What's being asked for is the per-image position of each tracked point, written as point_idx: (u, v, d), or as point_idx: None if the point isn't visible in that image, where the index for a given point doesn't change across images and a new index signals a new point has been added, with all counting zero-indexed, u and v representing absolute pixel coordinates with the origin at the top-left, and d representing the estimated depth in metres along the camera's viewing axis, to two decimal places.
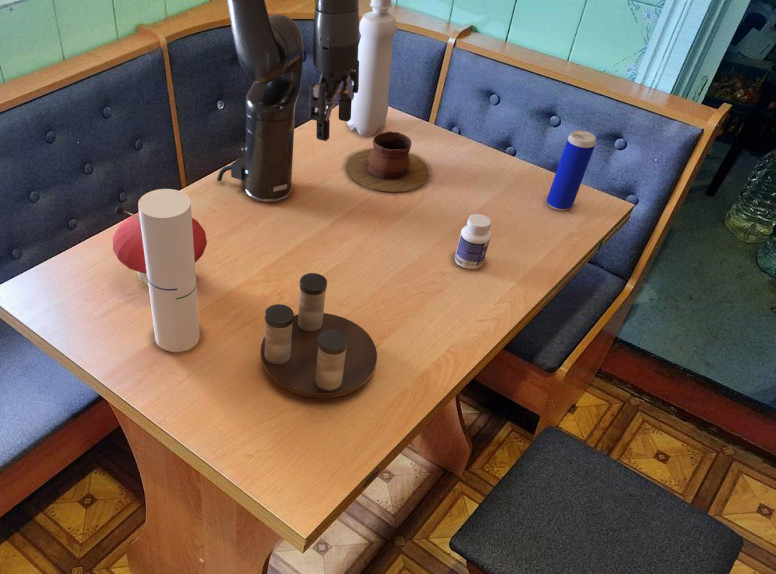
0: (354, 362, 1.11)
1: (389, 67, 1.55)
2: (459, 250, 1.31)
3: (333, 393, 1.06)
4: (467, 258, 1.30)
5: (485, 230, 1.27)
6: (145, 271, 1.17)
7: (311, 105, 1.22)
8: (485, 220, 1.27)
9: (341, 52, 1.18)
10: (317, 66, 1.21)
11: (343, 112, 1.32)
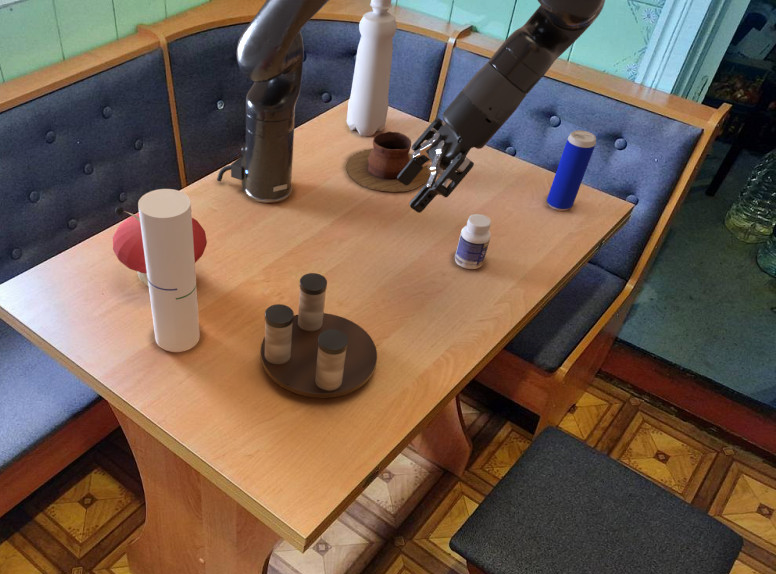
0: (354, 362, 1.11)
1: (389, 67, 1.55)
2: (459, 250, 1.31)
3: (333, 393, 1.06)
4: (467, 258, 1.30)
5: (485, 230, 1.27)
6: (145, 271, 1.17)
7: (448, 176, 1.00)
8: (485, 220, 1.27)
9: (495, 130, 1.01)
10: (462, 132, 1.00)
11: (408, 174, 1.12)
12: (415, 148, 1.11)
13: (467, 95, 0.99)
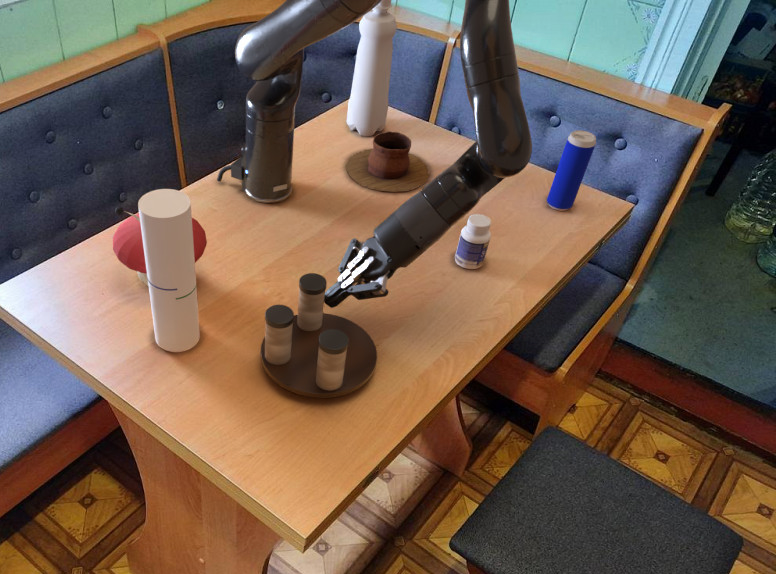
0: (354, 362, 1.11)
1: (389, 67, 1.55)
2: (459, 250, 1.31)
3: (333, 393, 1.06)
4: (467, 258, 1.30)
5: (485, 230, 1.27)
6: (145, 271, 1.17)
7: (362, 292, 1.09)
8: (485, 220, 1.27)
9: None
10: (392, 254, 1.06)
11: None
12: (342, 271, 1.13)
13: (400, 221, 1.05)
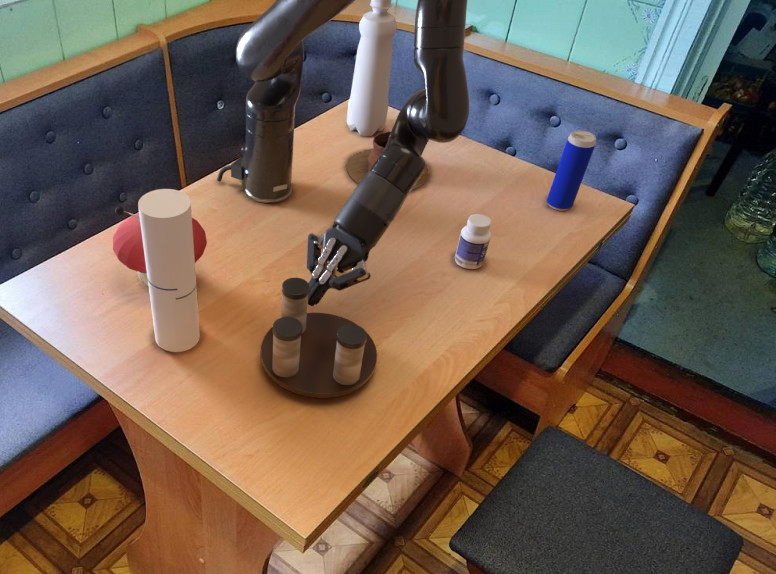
0: None
1: (389, 67, 1.55)
2: (459, 250, 1.31)
3: (357, 385, 1.08)
4: (467, 258, 1.30)
5: (485, 230, 1.27)
6: (145, 271, 1.17)
7: (346, 282, 1.10)
8: (485, 220, 1.27)
9: None
10: (366, 238, 1.09)
11: None
12: (312, 268, 1.14)
13: (365, 204, 1.07)
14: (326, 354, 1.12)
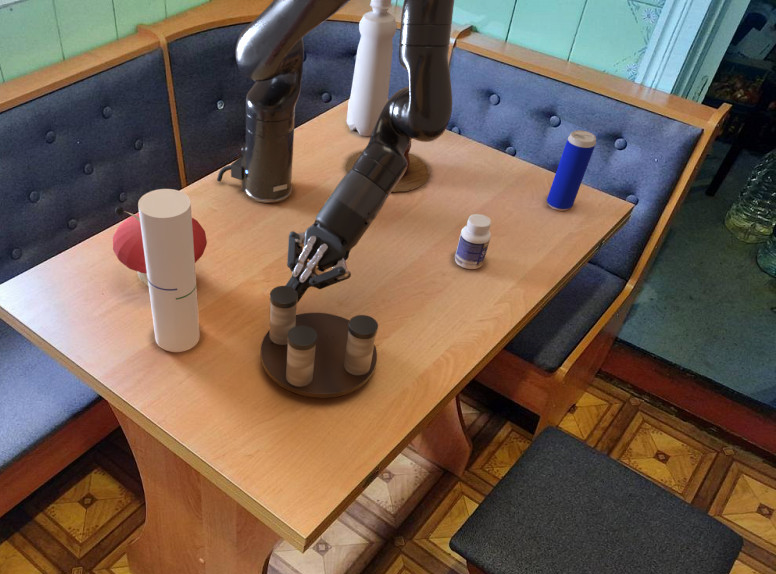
0: None
1: (389, 67, 1.55)
2: (459, 250, 1.31)
3: (372, 372, 1.10)
4: (467, 258, 1.30)
5: (485, 230, 1.27)
6: (145, 271, 1.17)
7: (326, 280, 1.09)
8: (485, 220, 1.27)
9: None
10: (346, 237, 1.08)
11: None
12: (293, 266, 1.13)
13: (345, 203, 1.07)
14: (328, 352, 1.12)
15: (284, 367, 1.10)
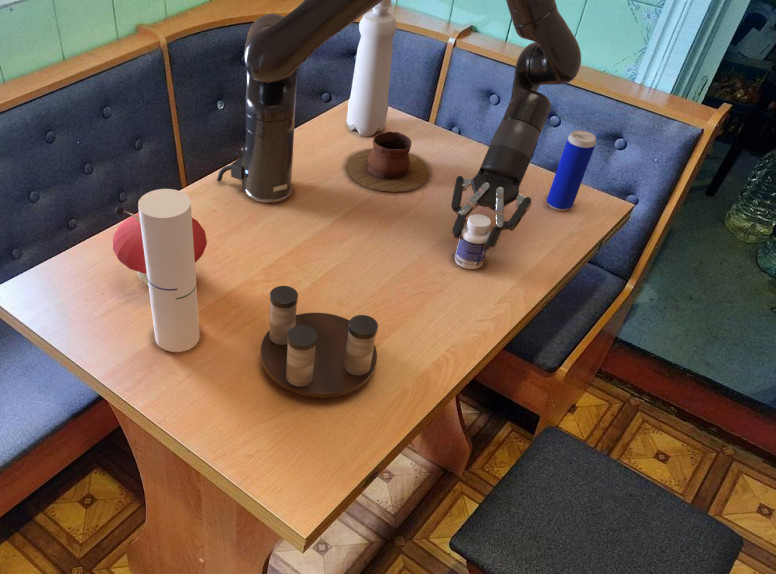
0: None
1: (389, 67, 1.55)
2: (459, 250, 1.31)
3: (372, 372, 1.10)
4: (467, 258, 1.30)
5: (485, 230, 1.27)
6: (145, 271, 1.17)
7: (521, 216, 1.25)
8: (485, 220, 1.27)
9: None
10: (519, 176, 1.25)
11: (460, 229, 1.29)
12: (457, 207, 1.29)
13: (515, 147, 1.24)
14: (328, 352, 1.12)
15: (284, 367, 1.10)
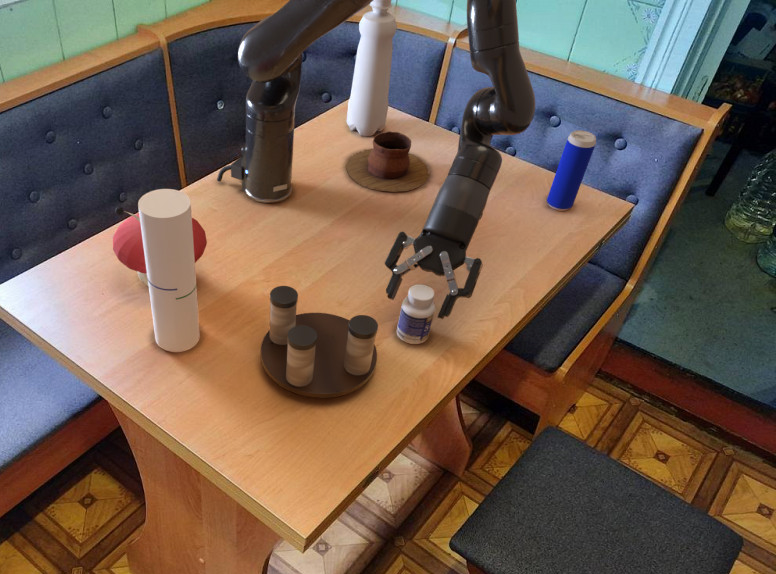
0: None
1: (389, 67, 1.55)
2: (400, 323, 1.16)
3: (372, 372, 1.10)
4: (409, 333, 1.16)
5: (427, 303, 1.12)
6: (145, 271, 1.17)
7: (475, 280, 1.10)
8: (428, 292, 1.13)
9: None
10: (465, 240, 1.10)
11: (395, 290, 1.15)
12: (391, 264, 1.15)
13: (460, 208, 1.09)
14: (328, 352, 1.12)
15: (284, 367, 1.10)
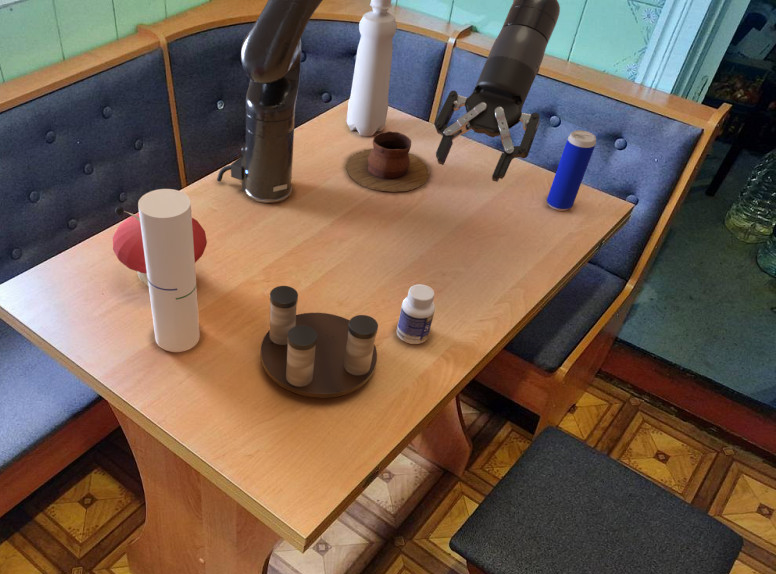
0: None
1: (389, 67, 1.55)
2: (400, 323, 1.16)
3: (372, 372, 1.10)
4: (409, 333, 1.16)
5: (427, 303, 1.12)
6: (145, 271, 1.17)
7: (532, 136, 1.04)
8: (428, 292, 1.13)
9: None
10: (522, 94, 1.04)
11: (446, 153, 1.09)
12: (442, 126, 1.09)
13: (517, 58, 1.03)
14: (328, 352, 1.12)
15: (284, 367, 1.10)
